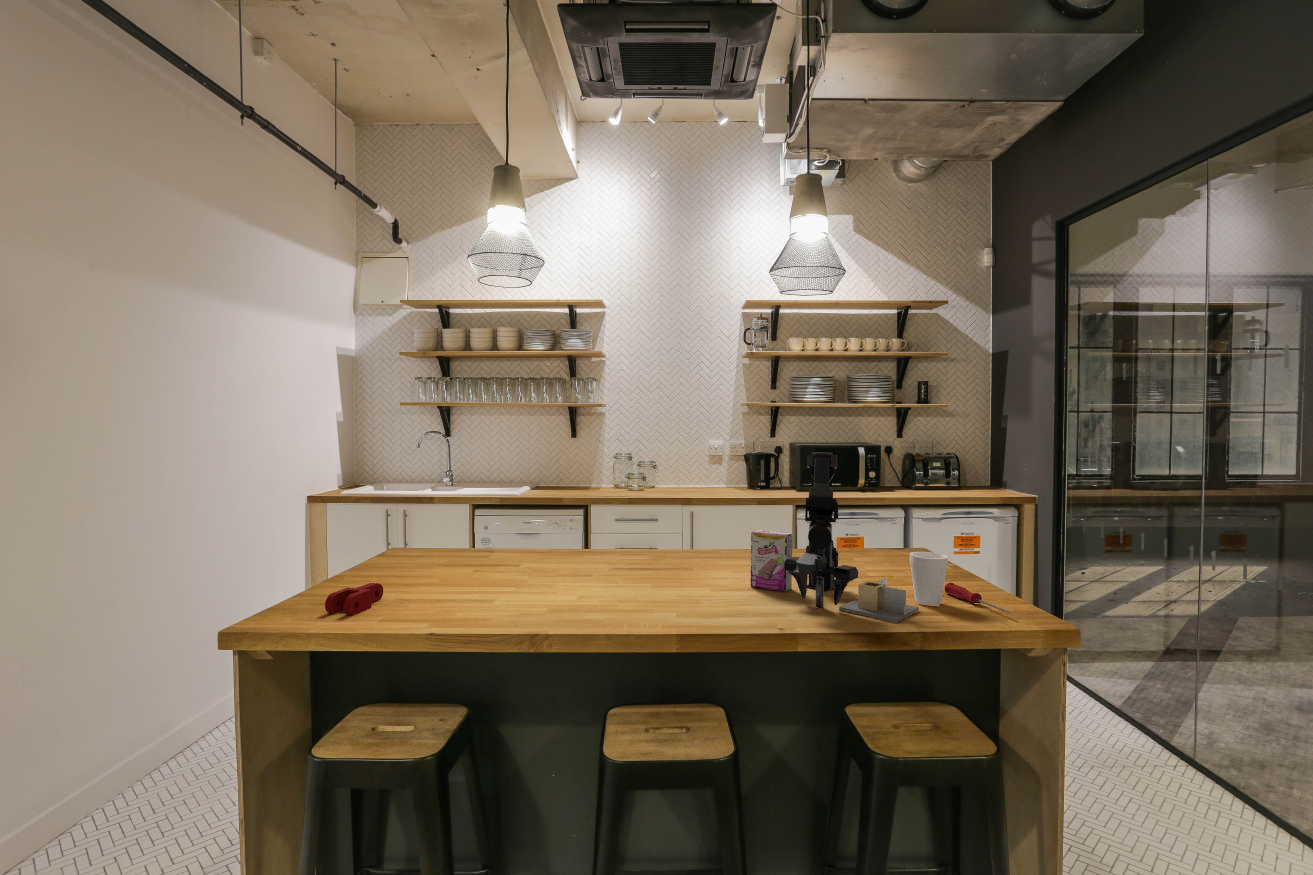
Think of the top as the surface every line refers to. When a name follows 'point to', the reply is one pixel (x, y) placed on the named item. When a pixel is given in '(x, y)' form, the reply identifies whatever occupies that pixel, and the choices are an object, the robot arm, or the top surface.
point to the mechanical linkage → (354, 599)
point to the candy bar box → (770, 560)
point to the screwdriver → (967, 595)
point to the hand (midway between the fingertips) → (819, 601)
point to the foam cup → (928, 576)
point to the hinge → (881, 597)
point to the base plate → (880, 614)
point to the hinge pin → (819, 591)
